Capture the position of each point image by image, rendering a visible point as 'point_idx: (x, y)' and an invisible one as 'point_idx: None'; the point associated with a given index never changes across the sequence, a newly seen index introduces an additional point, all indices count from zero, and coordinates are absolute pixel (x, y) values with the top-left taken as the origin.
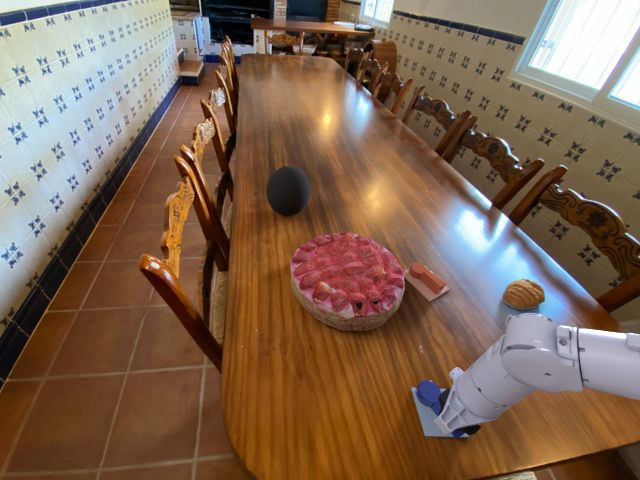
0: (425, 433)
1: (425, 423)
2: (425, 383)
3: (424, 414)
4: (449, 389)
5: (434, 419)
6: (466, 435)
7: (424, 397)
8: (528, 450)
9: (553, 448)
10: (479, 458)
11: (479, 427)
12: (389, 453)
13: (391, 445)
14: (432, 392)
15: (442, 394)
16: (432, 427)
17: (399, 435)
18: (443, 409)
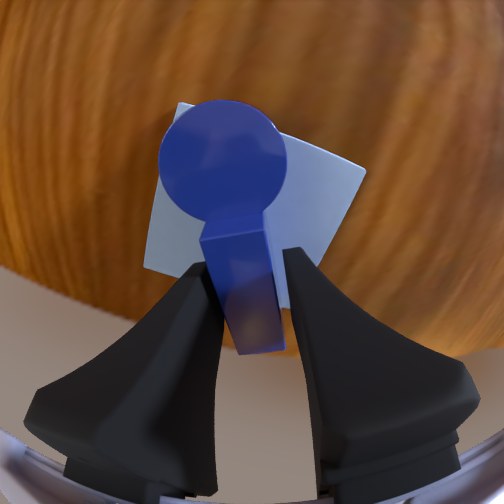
0: (144, 262)
1: (160, 238)
2: (217, 120)
3: (173, 212)
4: (97, 455)
5: None
6: (287, 305)
7: (164, 184)
8: None
9: (443, 348)
10: None
11: (203, 495)
12: (44, 259)
13: (50, 247)
14: (227, 175)
15: (33, 430)
16: (179, 256)
17: (72, 235)
18: (2, 478)
